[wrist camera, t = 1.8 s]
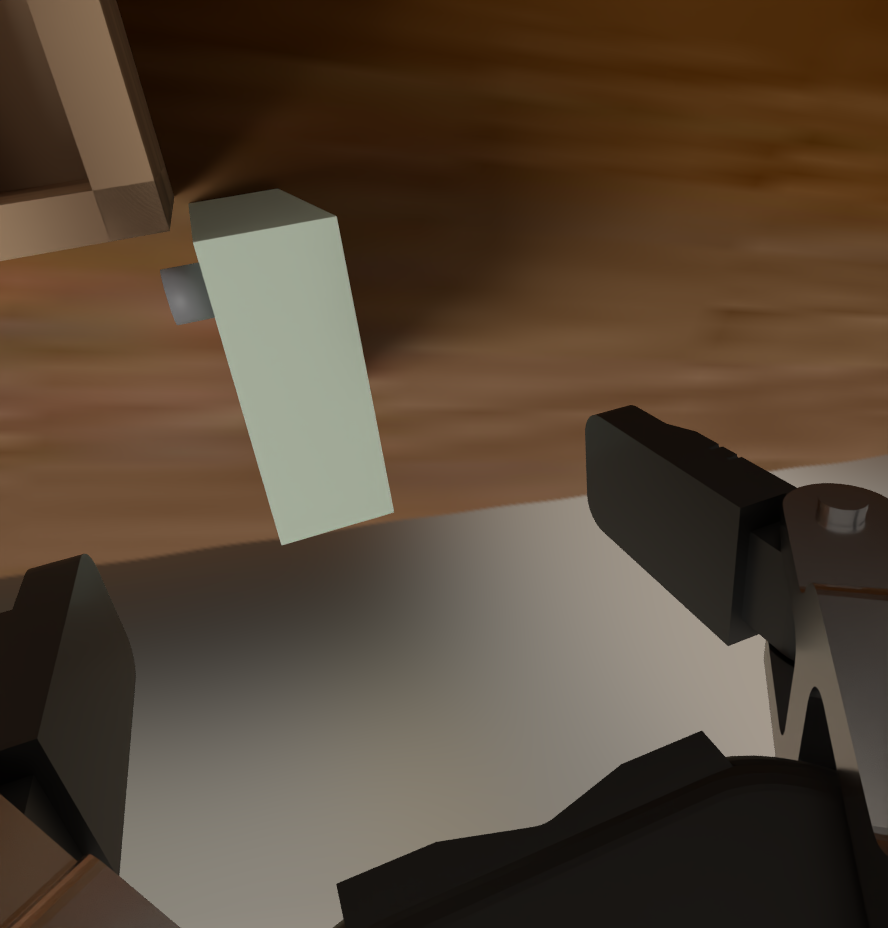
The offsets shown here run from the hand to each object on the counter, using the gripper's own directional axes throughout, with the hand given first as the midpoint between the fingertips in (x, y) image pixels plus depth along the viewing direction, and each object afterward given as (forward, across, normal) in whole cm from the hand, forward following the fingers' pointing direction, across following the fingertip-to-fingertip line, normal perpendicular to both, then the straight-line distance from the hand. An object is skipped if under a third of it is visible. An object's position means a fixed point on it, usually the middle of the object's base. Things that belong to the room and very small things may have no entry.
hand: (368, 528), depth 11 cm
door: (+18, 0, 0) cm, 18 cm away
